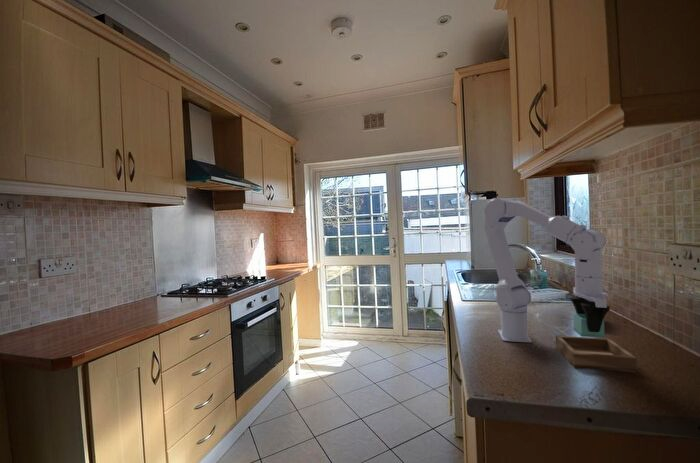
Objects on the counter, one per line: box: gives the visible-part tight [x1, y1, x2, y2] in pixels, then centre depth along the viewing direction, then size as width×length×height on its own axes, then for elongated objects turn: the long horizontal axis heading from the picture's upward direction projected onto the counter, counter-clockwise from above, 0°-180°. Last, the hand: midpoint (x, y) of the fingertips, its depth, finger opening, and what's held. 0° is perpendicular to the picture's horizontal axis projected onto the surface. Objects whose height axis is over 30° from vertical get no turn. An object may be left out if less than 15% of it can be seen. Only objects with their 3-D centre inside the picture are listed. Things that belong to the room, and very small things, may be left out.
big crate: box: [555, 335, 638, 374], centre depth 85 cm, size 13×13×4 cm
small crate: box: [572, 313, 605, 338], centre depth 84 cm, size 5×5×4 cm
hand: (589, 328), depth 84 cm, fingers closed on small crate, 5 cm apart
